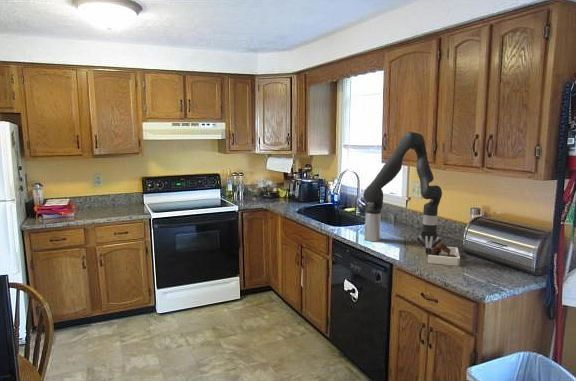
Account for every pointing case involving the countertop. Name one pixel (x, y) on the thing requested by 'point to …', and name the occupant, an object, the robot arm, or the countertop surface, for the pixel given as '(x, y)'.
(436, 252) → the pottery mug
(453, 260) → the box
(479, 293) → the countertop surface
